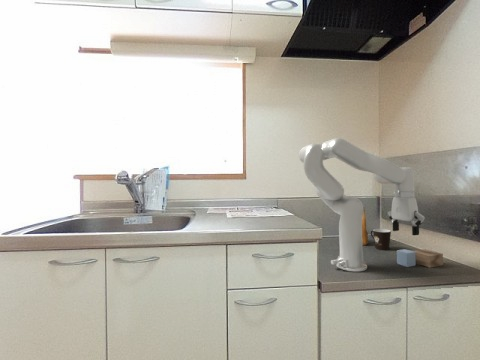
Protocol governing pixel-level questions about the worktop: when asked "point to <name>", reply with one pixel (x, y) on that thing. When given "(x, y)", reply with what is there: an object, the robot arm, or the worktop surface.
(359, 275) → the worktop surface
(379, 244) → the coffee mug
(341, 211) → the robot arm
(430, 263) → the block
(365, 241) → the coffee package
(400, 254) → the blue block
